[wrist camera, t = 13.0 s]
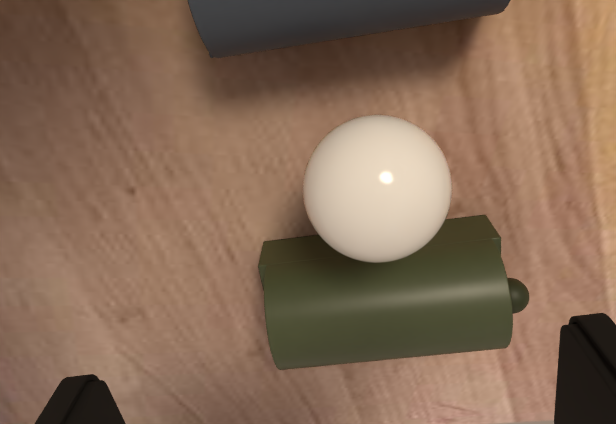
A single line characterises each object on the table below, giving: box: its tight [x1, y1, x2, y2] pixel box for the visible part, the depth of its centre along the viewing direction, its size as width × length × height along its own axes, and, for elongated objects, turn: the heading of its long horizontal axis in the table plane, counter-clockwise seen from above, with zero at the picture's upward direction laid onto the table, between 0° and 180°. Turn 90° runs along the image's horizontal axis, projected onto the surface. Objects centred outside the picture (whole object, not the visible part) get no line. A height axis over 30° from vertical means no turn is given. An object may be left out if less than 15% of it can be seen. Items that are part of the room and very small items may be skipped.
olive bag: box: [258, 215, 529, 370], centre depth 29 cm, size 7×15×7 cm, turn 99°
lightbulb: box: [303, 115, 452, 263], centre depth 23 cm, size 6×6×11 cm
